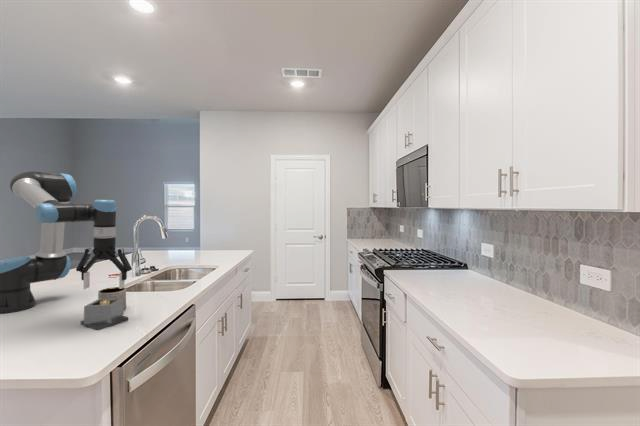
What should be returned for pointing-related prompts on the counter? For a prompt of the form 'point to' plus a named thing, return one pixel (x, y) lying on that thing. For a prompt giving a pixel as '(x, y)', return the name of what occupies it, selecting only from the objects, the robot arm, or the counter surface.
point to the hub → (104, 325)
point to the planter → (113, 294)
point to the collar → (103, 311)
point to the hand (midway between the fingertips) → (104, 288)
